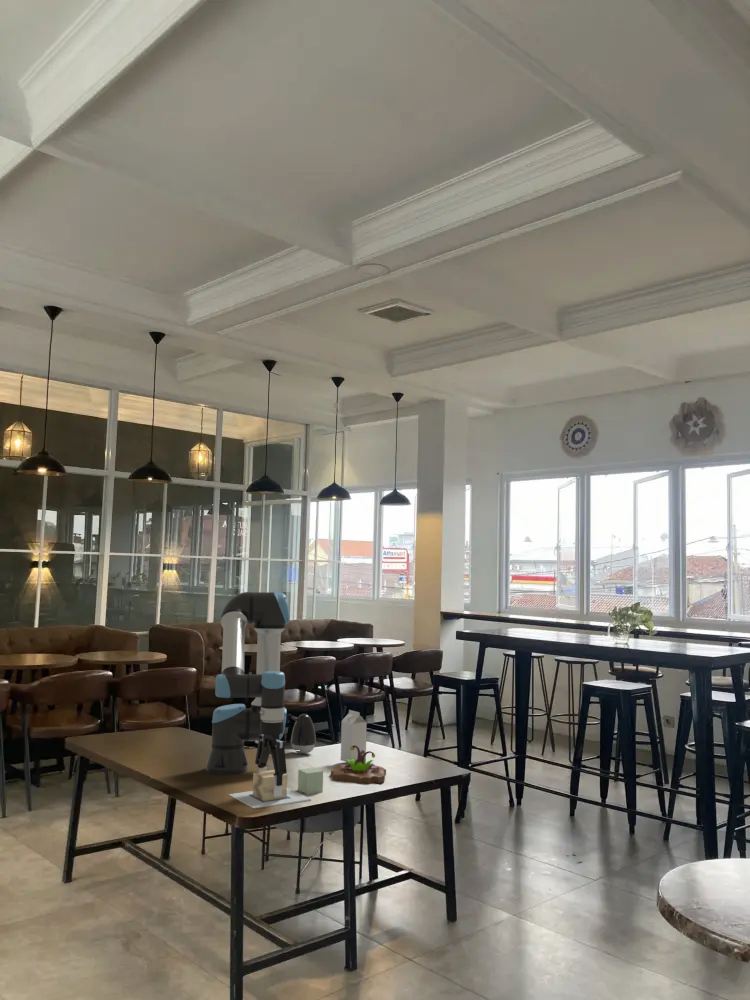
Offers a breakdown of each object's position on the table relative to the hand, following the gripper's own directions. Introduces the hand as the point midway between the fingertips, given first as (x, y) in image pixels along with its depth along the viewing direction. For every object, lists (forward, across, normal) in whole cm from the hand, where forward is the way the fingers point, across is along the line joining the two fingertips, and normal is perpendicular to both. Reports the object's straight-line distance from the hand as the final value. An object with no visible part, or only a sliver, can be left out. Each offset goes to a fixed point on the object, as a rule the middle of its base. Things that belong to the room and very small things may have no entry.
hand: (269, 792), depth 257 cm
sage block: (+2, -2, +16) cm, 16 cm away
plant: (+3, -12, +42) cm, 44 cm away
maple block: (+1, 0, 0) cm, 1 cm away
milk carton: (+3, -33, +53) cm, 62 cm away
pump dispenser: (+3, -57, +44) cm, 72 cm away
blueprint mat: (+2, 0, 0) cm, 2 cm away
